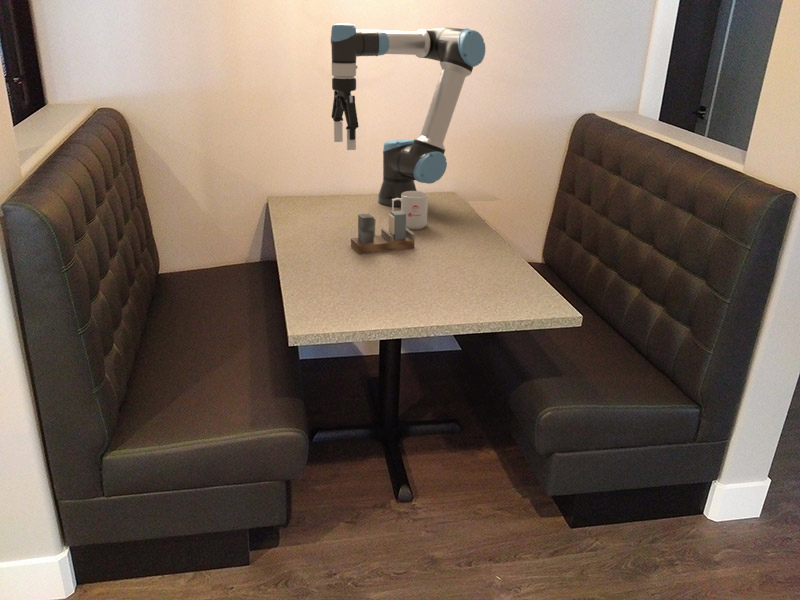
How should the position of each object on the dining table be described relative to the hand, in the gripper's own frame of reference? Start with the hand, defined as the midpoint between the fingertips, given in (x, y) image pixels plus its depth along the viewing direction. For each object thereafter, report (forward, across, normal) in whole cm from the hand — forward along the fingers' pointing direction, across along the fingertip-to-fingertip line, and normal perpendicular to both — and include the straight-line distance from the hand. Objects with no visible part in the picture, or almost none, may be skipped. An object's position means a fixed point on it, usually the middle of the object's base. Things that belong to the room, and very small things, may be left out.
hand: (344, 145), depth 229 cm
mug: (+27, -8, -20) cm, 34 cm away
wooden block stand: (+27, -25, -4) cm, 37 cm away
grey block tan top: (+24, -25, -9) cm, 36 cm away
